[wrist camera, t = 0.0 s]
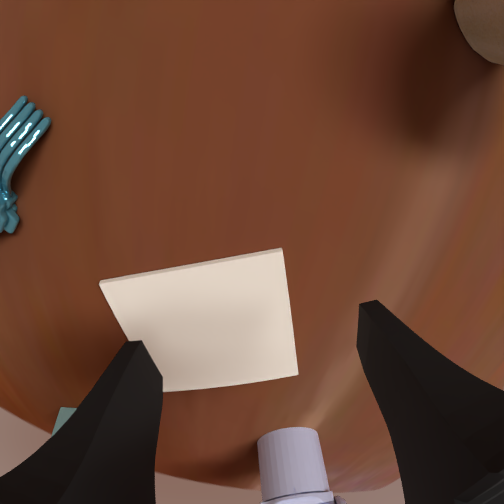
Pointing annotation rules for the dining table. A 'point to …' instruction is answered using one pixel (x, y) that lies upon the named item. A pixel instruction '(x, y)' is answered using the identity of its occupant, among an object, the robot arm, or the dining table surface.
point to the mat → (210, 320)
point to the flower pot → (483, 26)
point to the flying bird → (16, 153)
